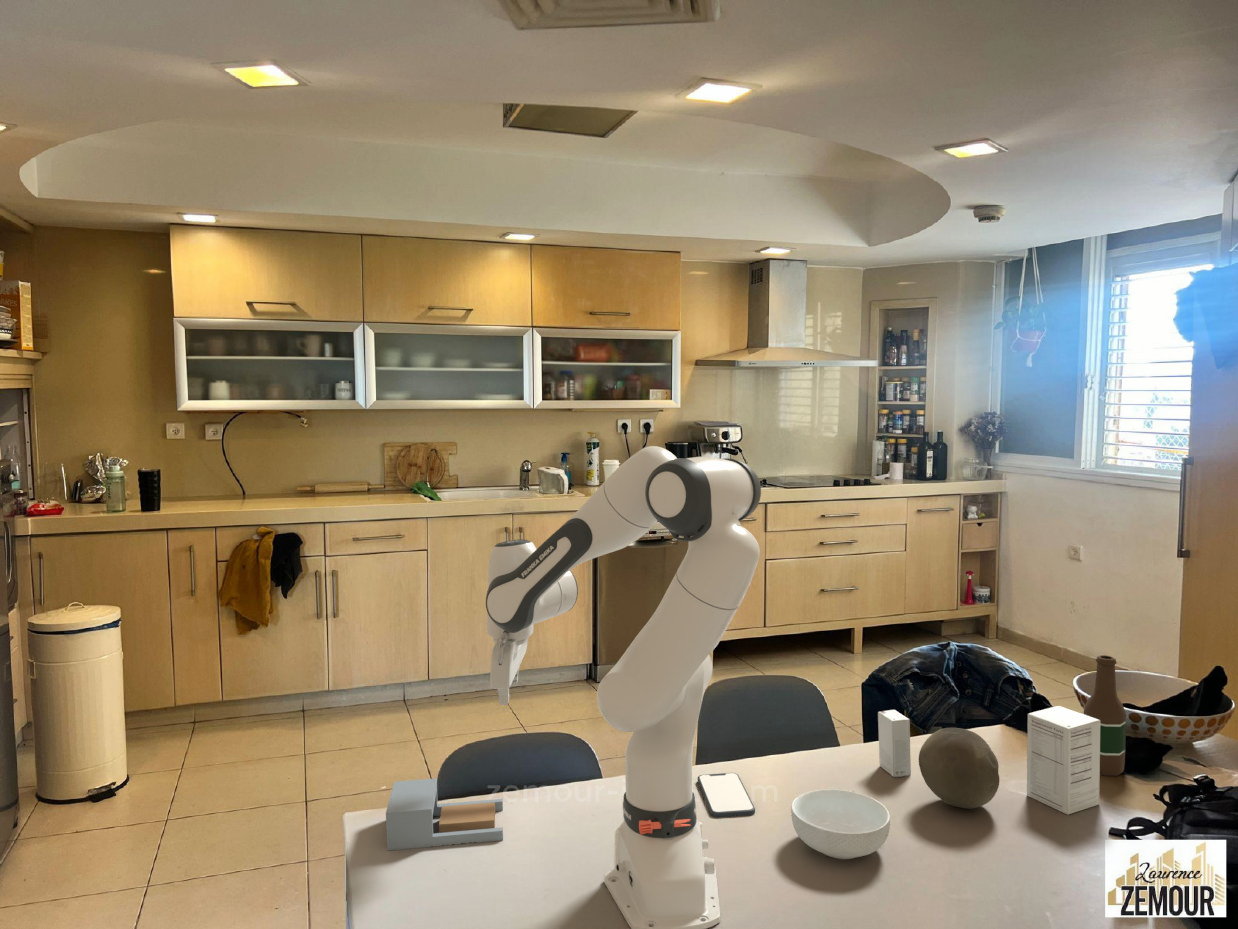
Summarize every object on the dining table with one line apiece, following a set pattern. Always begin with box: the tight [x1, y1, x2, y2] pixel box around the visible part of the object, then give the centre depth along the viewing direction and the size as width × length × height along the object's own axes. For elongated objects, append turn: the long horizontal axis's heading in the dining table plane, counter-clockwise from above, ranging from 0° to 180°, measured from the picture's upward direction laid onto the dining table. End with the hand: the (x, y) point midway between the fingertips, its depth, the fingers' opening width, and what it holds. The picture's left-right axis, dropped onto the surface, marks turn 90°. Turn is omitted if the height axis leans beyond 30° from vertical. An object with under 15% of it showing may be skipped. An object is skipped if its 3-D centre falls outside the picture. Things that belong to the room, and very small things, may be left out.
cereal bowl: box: [790, 788, 891, 860], centre depth 152 cm, size 17×17×7 cm
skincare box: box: [877, 709, 912, 778], centre depth 181 cm, size 6×4×12 cm
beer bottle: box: [1083, 655, 1127, 777], centre depth 180 cm, size 8×8×24 cm
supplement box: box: [1026, 705, 1101, 816], centre depth 167 cm, size 10×9×17 cm
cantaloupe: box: [918, 727, 1000, 810], centre depth 165 cm, size 14×14×15 cm
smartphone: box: [697, 772, 756, 818], centre depth 172 cm, size 9×2×16 cm
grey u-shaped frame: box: [385, 777, 504, 851], centre depth 161 cm, size 12×20×7 cm, turn 98°
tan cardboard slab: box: [438, 802, 496, 833], centre depth 162 cm, size 7×10×3 cm
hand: (508, 693), depth 165 cm, fingers open, 8 cm apart
